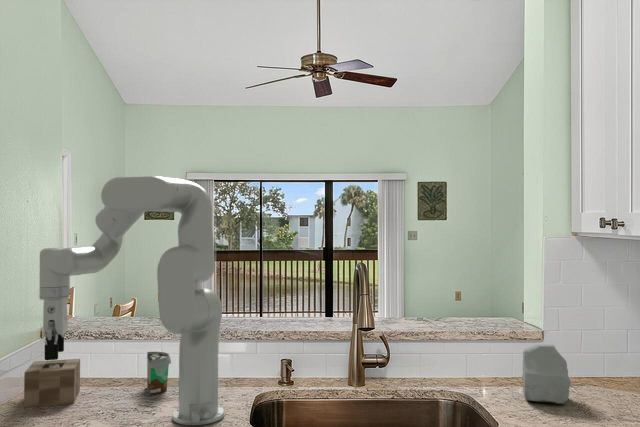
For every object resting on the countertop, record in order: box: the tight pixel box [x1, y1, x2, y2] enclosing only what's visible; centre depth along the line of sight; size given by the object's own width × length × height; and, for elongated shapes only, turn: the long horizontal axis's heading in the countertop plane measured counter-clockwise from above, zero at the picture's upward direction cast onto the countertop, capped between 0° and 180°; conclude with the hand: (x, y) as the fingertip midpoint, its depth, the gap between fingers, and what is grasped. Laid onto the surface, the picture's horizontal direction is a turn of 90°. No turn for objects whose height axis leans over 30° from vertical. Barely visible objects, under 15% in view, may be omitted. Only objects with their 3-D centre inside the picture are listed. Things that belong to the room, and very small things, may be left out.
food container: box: [146, 351, 172, 397], centre depth 161 cm, size 12×6×10 cm, turn 22°
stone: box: [522, 343, 572, 405], centre depth 153 cm, size 12×12×15 cm
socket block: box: [23, 358, 81, 408], centre depth 153 cm, size 12×12×9 cm
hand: (54, 355), depth 153 cm, fingers open, 9 cm apart
